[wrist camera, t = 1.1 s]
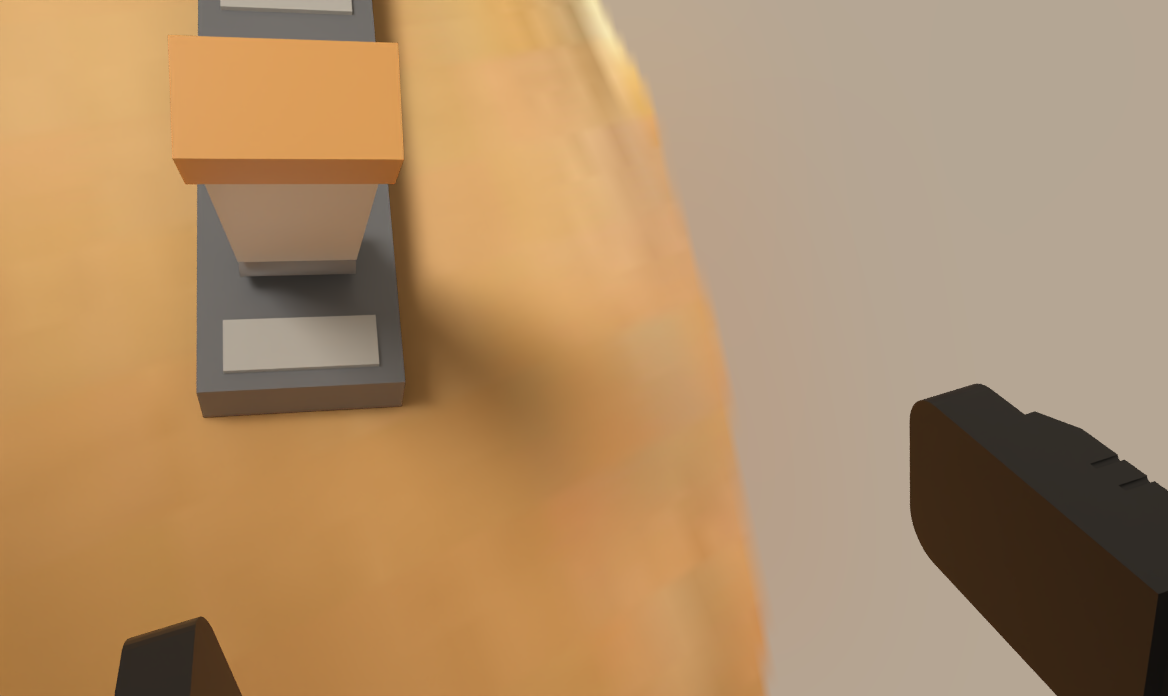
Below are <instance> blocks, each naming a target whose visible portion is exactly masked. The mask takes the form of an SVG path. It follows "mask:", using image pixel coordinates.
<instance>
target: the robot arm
mask: <svg viewBox="0 0 1168 696" xmlns="http://www.w3.org/2000/svg"><path fill="white" fill-rule="evenodd" d="M910 511H911V517H912V522H913V526H914V529H915V532H916V534H917V537H918V539H919V541H920V543H921V545H922V547H923V549H924V551H925V552H926V554H927V555H928V557H929V558H930V559H931V560H932V562H933V563H934V564H935V565H936V566H937V567H938V568H939V569H940V570H941V571H942V573H943V574H944V575H945V576H946V577H947V578H948V579H949V580H950V581H951V582H952V583H953V584H954V585H955V586H956V588H957V589H958V590H959V591H960V592H961V593H962V594H963V595H964V596H965V597H966V598H967V599H968V600H969V602H970V603H972V605H973V606H974V607H975V608H976V609H977V610H978V611H979V612H980V613H981V614H982V616H983V617H984V618H985V619H986V620H987V621H988V622H989V623H990V624H991V625H992V626H993V627H994V628H995V629H996V631H997V632H998V633H999V634H1000V635H1001V636H1002V637H1003V638H1004V639H1005V640H1006V641H1007V642H1008V643H1009V645H1010V646H1011V647H1012V648H1013V649H1014V650H1015V651H1016V652H1017V653H1018V654H1019V655H1020V656H1021V657H1022V659H1023V660H1024V661H1025V662H1026V663H1027V664H1028V665H1029V666H1030V667H1031V668H1032V669H1033V670H1034V671H1035V672H1036V673H1037V675H1038V676H1039V677H1040V678H1041V679H1042V680H1043V681H1044V682H1045V683H1046V684H1047V685H1048V686H1049V687H1050V689H1052V691H1053V692H1054V693H1055V694H1056V695H1057V696H1168V491H1167V490H1166V489H1165V488H1163V487H1161V486H1160V485H1159V484H1158V483H1156V482H1155V481H1154V482H1151V483H1150V482H1149V481H1148V479H1147V475H1145V474H1144V473H1142V472H1141V471H1140V470H1138V469H1137V468H1135V467H1134V466H1133V465H1131V464H1130V463H1128V462H1127V461H1125V460H1122V461H1120V460H1119V459H1118V455H1117V454H1116V453H1115V452H1113V451H1112V450H1110V449H1109V448H1107V447H1106V446H1105V445H1103V444H1102V443H1101V442H1099V441H1098V440H1096V439H1095V438H1094V437H1092V436H1091V435H1089V434H1088V433H1087V432H1085V431H1084V430H1083V429H1081V428H1078V427H1075V426H1073V425H1070V424H1067V423H1064V422H1061V421H1059V420H1056V419H1053V418H1051V417H1048V416H1046V415H1043V414H1040V413H1037V412H1032V413H1029V414H1026V415H1025V414H1023V413H1022V412H1020V411H1019V410H1018V409H1017V408H1015V407H1014V406H1013V405H1011V404H1010V403H1009V402H1007V401H1006V400H1004V399H1003V398H1002V397H1001V396H999V395H998V394H997V393H995V392H994V391H993V390H991V389H990V388H988V387H987V386H985V385H982V384H973V385H970V386H966V387H963V388H960V389H956V390H953V391H950V392H947V393H944V394H940V395H937V396H933V397H930V398H927V399H924V400H920V401H918V402H916V403H915V404H914V406H913V408H912V410H911V414H910ZM115 696H242V695H241V692H240V690H239V688H238V686H237V683H236V681H235V679H234V677H233V674H232V672H231V670H230V668H229V665H228V663H227V661H226V659H225V656H224V654H223V652H222V650H221V647H220V645H219V643H218V640H217V638H216V636H215V634H214V632H213V630H212V627H211V626H210V624H209V622H208V621H207V620H206V619H205V618H204V617H198V618H194V619H191V620H188V621H185V622H181V623H178V624H175V625H171V626H168V627H165V628H162V629H158V630H155V631H152V632H148V633H145V634H142V635H138V636H135V637H132V638H129V639H127V640H126V641H125V643H124V645H123V649H122V654H121V660H120V666H119V672H118V678H117V684H116V690H115Z"/></svg>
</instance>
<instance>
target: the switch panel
mask: <svg viewBox="0 0 1168 696" xmlns="http://www.w3.org/2000/svg"><path fill="white" fill-rule="evenodd" d="M198 36H210V37H240V38H269V39H299V40H328V41H358V42H375V31H374V19H373V8H372V0H198ZM404 388H405V372H404V361H403V349H402V338H401V326H400V315H399V304H398V292H397V281H396V269H395V258H394V247H393V235H392V224H391V213H390V201H389V190H388V184H378V187H377V191H376V194H375V198H374V201H373V205H372V208H371V211H370V215H369V218H368V222H367V225H366V229H365V232H364V236H363V239H362V242H361V246H360V249H359V253H358V256H357V260H356V274H330V275H287V276H244V277H241V276H240V272H239V264H238V261H237V259H236V257H235V254H234V252H233V250H232V247H231V245H230V243H229V240H228V238H227V236H226V233H225V231H224V229H223V226H222V224H221V222H220V219H219V217H218V215H217V212H216V210H215V208H214V205H213V203H212V201H211V198H210V196H209V194H208V191H207V189H206V187H205V184H197V396H198V400H199V403H200V407H201V411H202V414H203V417H218V416H235V415H253V414H271V413H288V412H306V411H324V410H341V409H359V408H377V407H394V406H402V400H403V394H404Z"/></svg>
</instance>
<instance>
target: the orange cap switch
mask: <svg viewBox="0 0 1168 696" xmlns="http://www.w3.org/2000/svg"><path fill="white" fill-rule="evenodd" d="M168 52H169V79H170V106H171V133H172V159H173V161H174V163H175V164H176V166H177V168H178V170H179V172H180V174H181V176H182V178H183V180H184V182H185V184H205V187H206V189H207V191H208V194H209V196H210V198H211V201H212V203H213V205H214V208H215V210H216V212H217V215H218V217H219V219H220V222H221V224H222V226H223V229H224V231H225V233H226V236H227V238H228V240H229V243H230V245H231V247H232V250H233V252H234V254H235V257H236V259H237V261H238V264H239V272H240V276H241V277H244V276H287V275H330V274H356V260H357V256H358V253H359V249H360V246H361V242H362V239H363V236H364V232H365V229H366V225H367V222H368V218H369V215H370V211H371V208H372V205H373V201H374V198H375V194H376V191H377V187H378V184H395V183H396V180H397V177H398V174H399V172H400V169H401V166H402V163H403V161H404V152H403V132H402V112H401V93H400V73H399V53H398V43H387V42H358V41H328V40H299V39H269V38H240V37H210V36H180V35H168Z"/></svg>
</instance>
